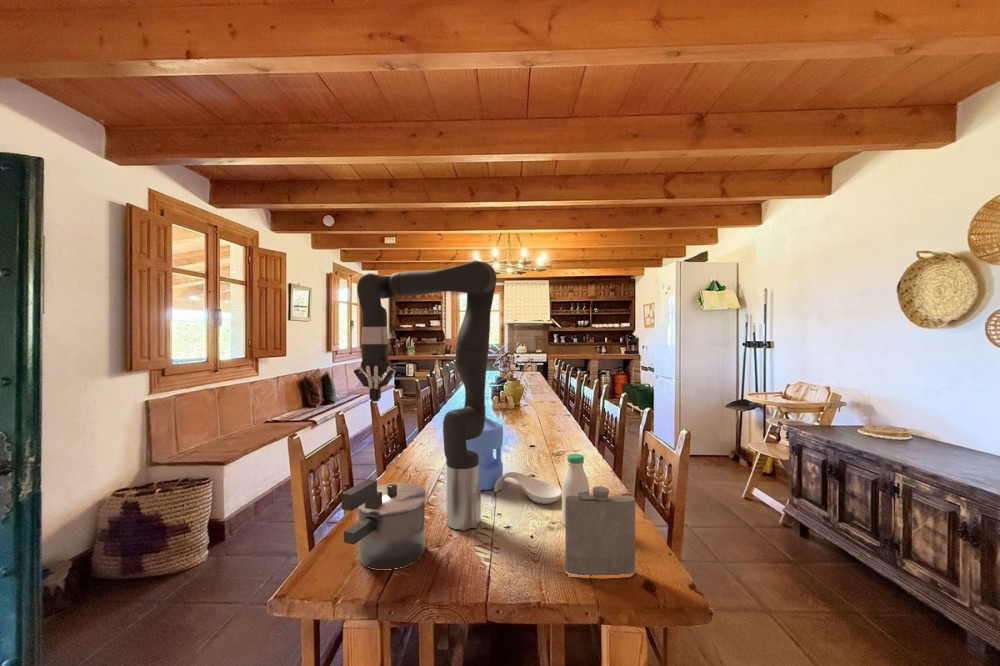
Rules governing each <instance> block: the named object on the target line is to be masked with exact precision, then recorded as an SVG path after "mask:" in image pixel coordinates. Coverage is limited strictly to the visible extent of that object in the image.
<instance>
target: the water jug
mask: <svg viewBox="0 0 1000 666" xmlns="http://www.w3.org/2000/svg"><path fill="white" fill-rule="evenodd" d="M486 408H487V406H486V405H485V424H484V429H483V432H482V434H481V435H480V436H479V437H477V438H474V439H470V440H466V445H467V450H470V451H474V452H476V453H477V454H478V456H479V488H481V490H484V491H489V490H490V489H491V490H494V487H495V484H496V482H497V480H498V479H499V478H500V477H501V476H503V475H504V469H503V468H504V466H503V465H504V464H503V462H502V446H503V445H504V444H503V443H504V442H503V439H504V431H503V429H504V428H503V425H502V424H501V423H500V422H498V421H497V422H496V421H494V420H493V419H490V418H488V417H487V415H486V412H487V410H486ZM494 450H495V452H496V453H495V454H496V455H495V457H494ZM491 490H490V491H491Z"/></svg>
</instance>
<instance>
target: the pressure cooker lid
mask: <svg viewBox="0 0 1000 666" xmlns="http://www.w3.org/2000/svg"><path fill="white" fill-rule="evenodd" d="M426 493H427V492H426V489H425V488H424V487H423V486H421V485H418V484H416V483H412V482H411V483H410V482H388V483H382V484H378V480H376V479H369V478H368V479H366V480H363V481H361V482H360V483H358V484H356V485H354V486H353V487H350V488H349V489H347V490H345V491H342V492H341V510H344V511H348V512H353V511H354V510H356V509H358V510H359V509H360V510H361V511H363V512H365V513H369V514H374V515H393V514H400V513H404V512H408V511H411V510H413V509H416V508H418V507H419V506H421V505H422V504H423V503H424V502H425V501H426V499H427V497H426V496H427V495H426Z"/></svg>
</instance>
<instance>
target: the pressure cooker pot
mask: <svg viewBox="0 0 1000 666" xmlns="http://www.w3.org/2000/svg"><path fill="white" fill-rule="evenodd" d="M425 509H426V508H425V502H424V503H423V504H422V505H421V506H419V507H418V508H416V509H413V510H411V511H408V512H404V513H400V514H393V515H374V514H369V513H365V512H363V511H361V510H360V509H359V508H358V522H355V524H352V525H351V526H349V527H348V528H346V529H345V530H344V531H343V543H344V544H350V545H353V546H354V545H356V544H357V543H358V558H359V559H360V561H361V563H362V564H364V565H365V566H367V567H370V568H375V569H394V568H400V567H404V566H406V565H409V564H411V563H414V562H415V561H417V560H418V559H419V558H420V557H421V556H422V555H423V553H424V554H425V552H426V545H425V543H426V541H425V539H426V538H425V537H426V535H425V534H426V533H425V530H426V528H425V525H426V522H425V521H426V519H425V514H426V513H425ZM424 551H425V552H424ZM423 556H424V555H423ZM423 556H422V557H423ZM359 559H358V560H359ZM360 561H359V562H360ZM417 562H418V561H417ZM361 563H360V564H361ZM362 564H361V565H362ZM414 564H415V563H414Z"/></svg>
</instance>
